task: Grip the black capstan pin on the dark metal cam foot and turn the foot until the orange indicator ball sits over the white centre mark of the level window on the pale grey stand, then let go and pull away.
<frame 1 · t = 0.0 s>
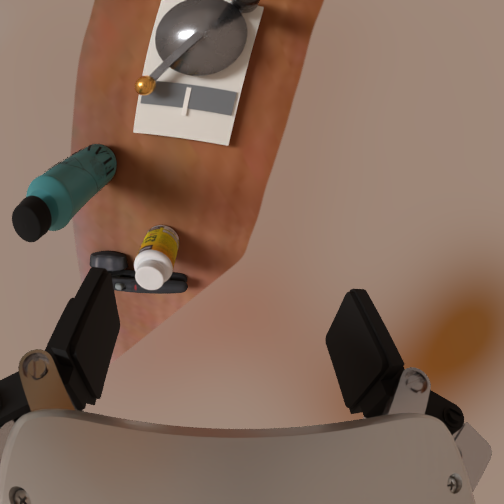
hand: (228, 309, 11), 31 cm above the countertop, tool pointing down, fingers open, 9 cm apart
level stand: (195, 65, 31), on the countertop
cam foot: (193, 36, 25), point 5 cm above the countertop, hinge at -35.0°
beverage bottle: (102, 161, 36), on the countertop
supplement bottle: (163, 238, 44), on the countertop
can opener: (139, 269, 47), on the countertop
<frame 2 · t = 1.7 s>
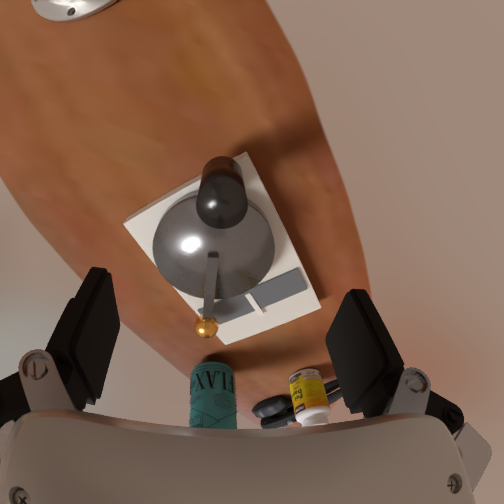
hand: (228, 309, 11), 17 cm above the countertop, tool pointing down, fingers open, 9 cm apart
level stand: (232, 263, 30), on the countertop
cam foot: (212, 273, 24), point 5 cm above the countertop, hinge at -35.0°
beverage bottle: (212, 363, 41), on the countertop
supplement bottle: (303, 374, 45), on the countertop
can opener: (297, 394, 49), on the countertop
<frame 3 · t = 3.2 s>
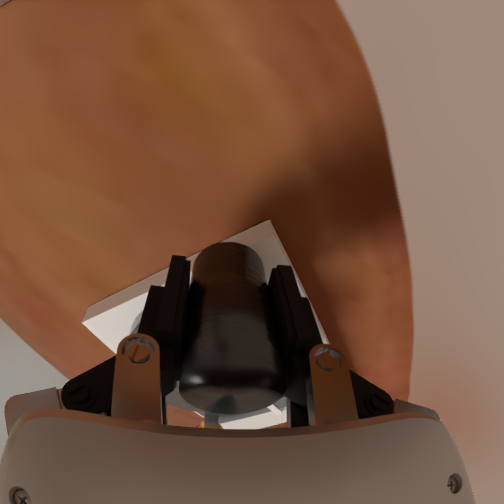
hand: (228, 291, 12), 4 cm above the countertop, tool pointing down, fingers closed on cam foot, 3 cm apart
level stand: (243, 363, 21), on the countertop
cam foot: (215, 407, 15), point 5 cm above the countertop, hinge at -35.0°, touching gripper
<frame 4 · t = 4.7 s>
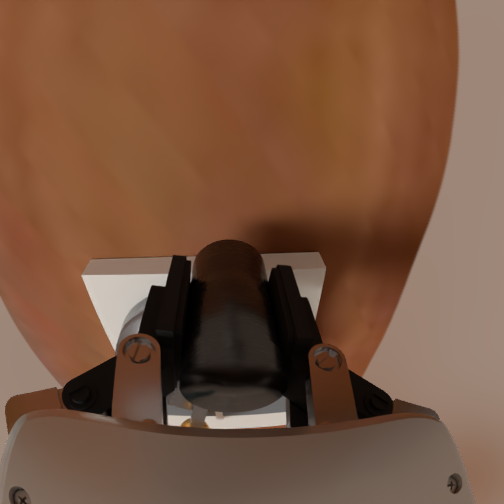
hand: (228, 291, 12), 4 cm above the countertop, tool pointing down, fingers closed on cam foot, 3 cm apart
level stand: (213, 364, 21), on the countertop
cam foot: (205, 405, 15), point 5 cm above the countertop, hinge at -12.9°, touching gripper
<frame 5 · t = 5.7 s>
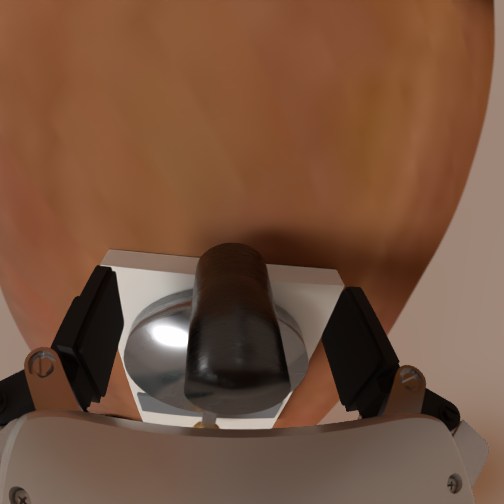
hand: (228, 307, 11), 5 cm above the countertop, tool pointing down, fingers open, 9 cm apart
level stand: (212, 367, 21), on the countertop
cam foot: (214, 407, 15), point 5 cm above the countertop, hinge at -1.5°
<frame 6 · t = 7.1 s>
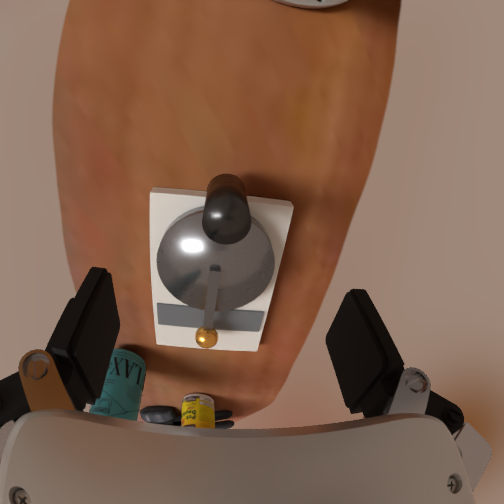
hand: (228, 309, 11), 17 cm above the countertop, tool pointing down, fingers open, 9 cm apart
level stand: (212, 279, 31), on the countertop
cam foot: (213, 286, 25), point 5 cm above the countertop, hinge at -1.5°
beverage bottle: (127, 353, 37), on the countertop
supplement bottle: (198, 398, 45), on the countertop
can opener: (187, 411, 48), on the countertop
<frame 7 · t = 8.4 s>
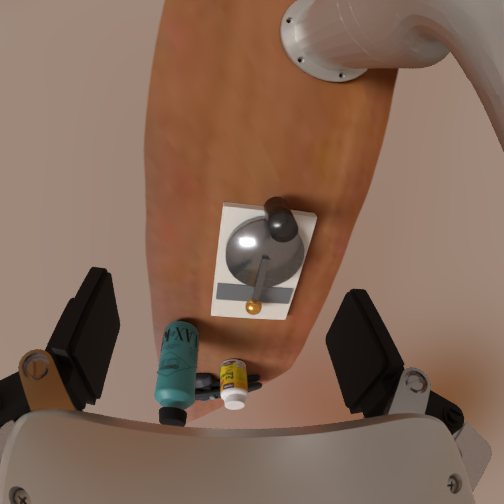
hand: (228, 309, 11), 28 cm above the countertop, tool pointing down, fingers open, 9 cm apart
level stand: (258, 266, 45), on the countertop
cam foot: (265, 269, 39), point 5 cm above the countertop, hinge at -1.5°
beverage bottle: (182, 325, 51), on the countertop
supplement bottle: (232, 364, 59), on the countertop
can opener: (222, 377, 62), on the countertop
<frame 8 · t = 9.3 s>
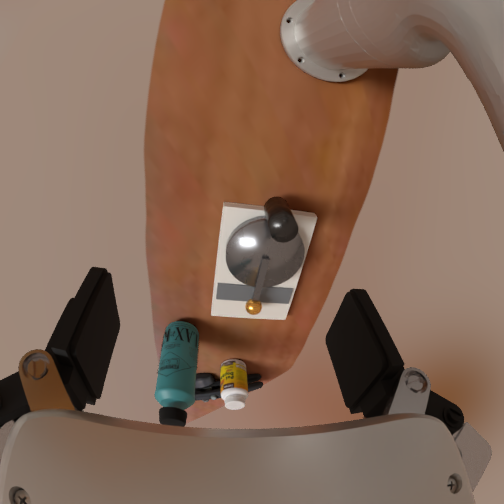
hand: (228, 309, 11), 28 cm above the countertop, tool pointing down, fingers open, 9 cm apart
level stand: (258, 266, 45), on the countertop
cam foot: (265, 269, 39), point 5 cm above the countertop, hinge at -1.5°
beverage bottle: (182, 325, 51), on the countertop
supplement bottle: (233, 364, 59), on the countertop
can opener: (223, 377, 62), on the countertop
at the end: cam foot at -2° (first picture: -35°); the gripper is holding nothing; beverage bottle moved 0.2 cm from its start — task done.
